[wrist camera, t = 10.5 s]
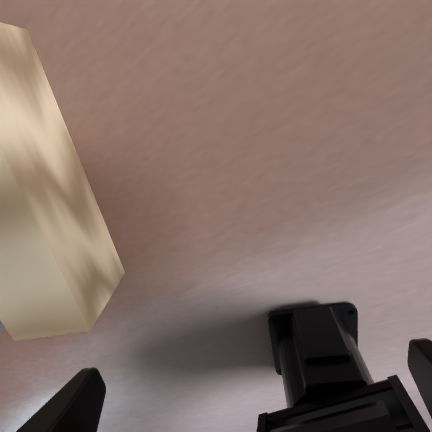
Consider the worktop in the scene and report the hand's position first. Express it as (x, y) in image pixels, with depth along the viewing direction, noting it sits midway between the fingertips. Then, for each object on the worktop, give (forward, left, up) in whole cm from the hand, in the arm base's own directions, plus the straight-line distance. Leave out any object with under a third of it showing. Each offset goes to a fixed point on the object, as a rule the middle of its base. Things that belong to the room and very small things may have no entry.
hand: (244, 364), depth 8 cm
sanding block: (+4, +12, -12) cm, 18 cm away
